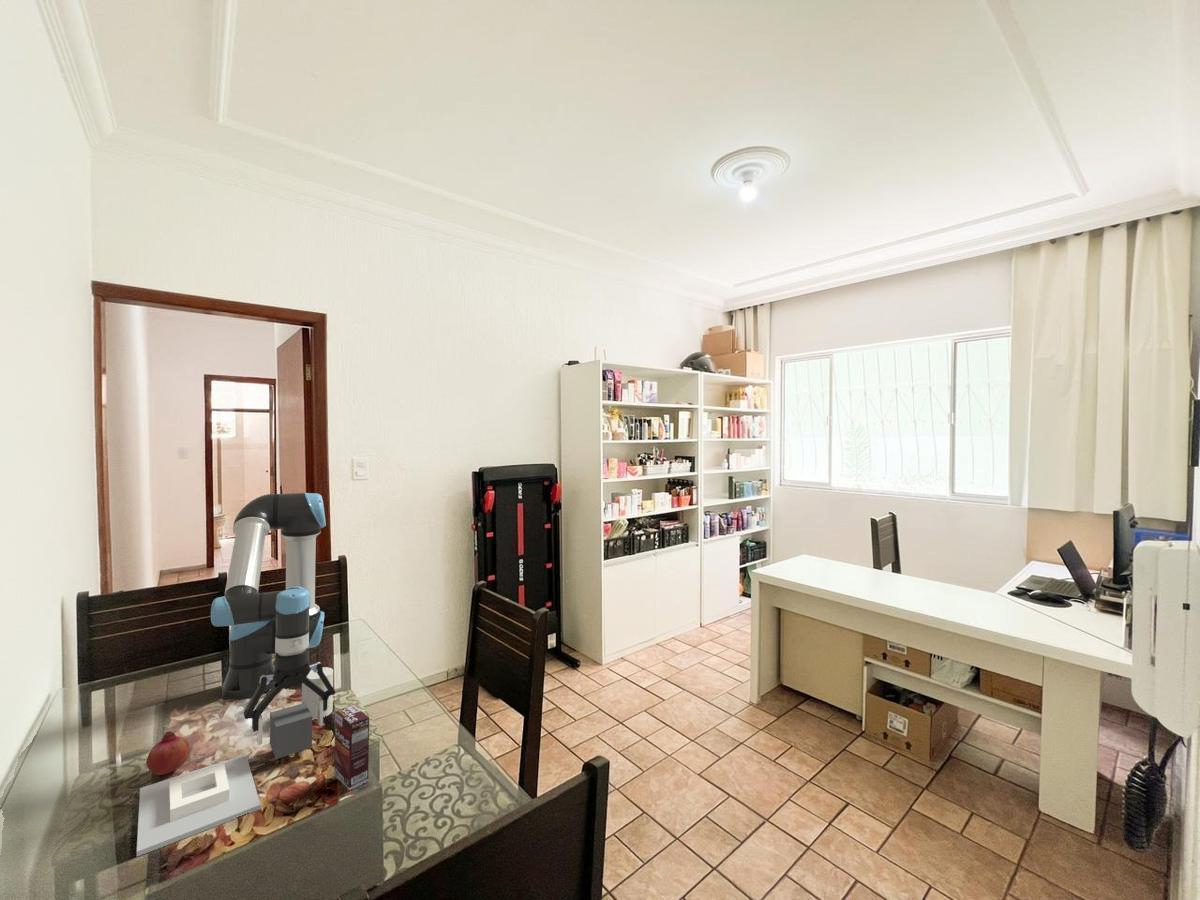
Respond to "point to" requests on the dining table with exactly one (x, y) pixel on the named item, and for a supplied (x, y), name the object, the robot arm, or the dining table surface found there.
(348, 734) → the supplement box
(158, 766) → the fruit
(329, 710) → the white cylinder
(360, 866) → the dining table surface
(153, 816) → the socket
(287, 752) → the plug
